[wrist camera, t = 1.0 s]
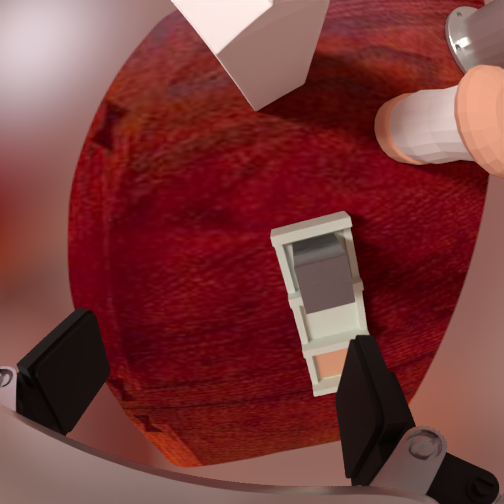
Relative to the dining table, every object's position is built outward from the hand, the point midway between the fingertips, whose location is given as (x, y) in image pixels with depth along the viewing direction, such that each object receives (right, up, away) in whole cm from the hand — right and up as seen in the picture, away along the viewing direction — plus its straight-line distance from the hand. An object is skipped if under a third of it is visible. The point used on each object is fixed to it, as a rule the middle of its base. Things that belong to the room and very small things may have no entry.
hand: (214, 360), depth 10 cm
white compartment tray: (+10, -3, +24) cm, 27 cm away
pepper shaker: (+18, +17, +17) cm, 30 cm away
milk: (+3, +22, +17) cm, 28 cm away
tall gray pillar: (+8, +3, +21) cm, 23 cm away
